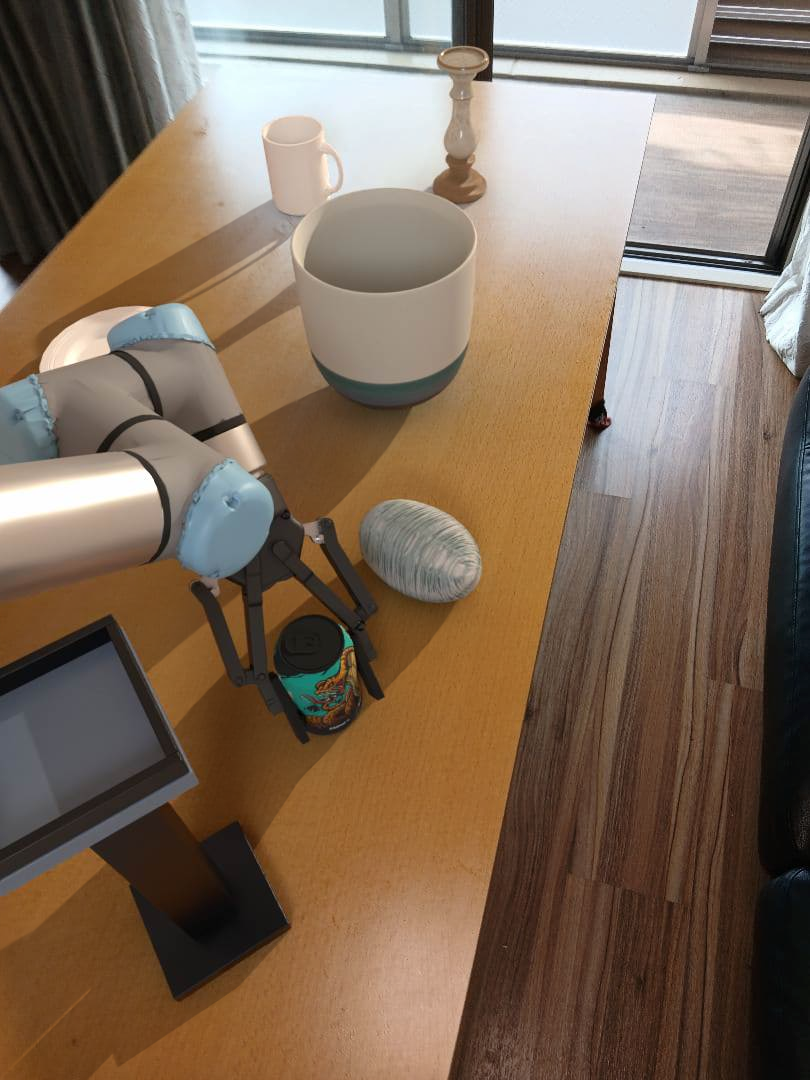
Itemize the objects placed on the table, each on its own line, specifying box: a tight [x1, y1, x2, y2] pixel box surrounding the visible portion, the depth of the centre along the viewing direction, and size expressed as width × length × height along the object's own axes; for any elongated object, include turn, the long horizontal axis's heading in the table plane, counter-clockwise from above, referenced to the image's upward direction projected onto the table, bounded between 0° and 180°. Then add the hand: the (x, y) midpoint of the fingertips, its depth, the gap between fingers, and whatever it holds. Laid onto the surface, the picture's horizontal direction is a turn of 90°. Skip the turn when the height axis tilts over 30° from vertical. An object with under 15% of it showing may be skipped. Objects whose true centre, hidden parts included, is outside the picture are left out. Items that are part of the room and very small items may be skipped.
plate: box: [38, 305, 154, 373], centre depth 109 cm, size 21×21×2 cm
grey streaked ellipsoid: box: [358, 498, 483, 604], centre depth 85 cm, size 14×10×10 cm
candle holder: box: [432, 45, 490, 204], centre depth 126 cm, size 9×9×20 cm
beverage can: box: [272, 613, 363, 736], centre depth 74 cm, size 7×7×12 cm
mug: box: [261, 114, 344, 217], centre depth 128 cm, size 10×12×12 cm
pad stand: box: [0, 613, 292, 1003], centre depth 54 cm, size 10×10×36 cm
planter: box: [289, 187, 478, 412], centre depth 97 cm, size 20×20×21 cm
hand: (340, 716), depth 74 cm, fingers closed on beverage can, 7 cm apart
